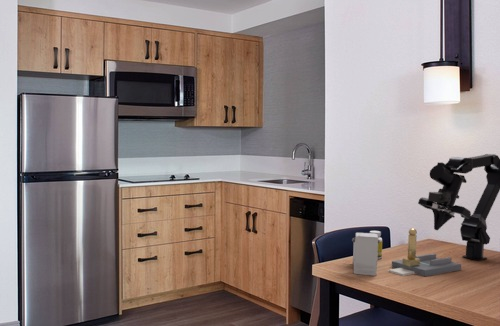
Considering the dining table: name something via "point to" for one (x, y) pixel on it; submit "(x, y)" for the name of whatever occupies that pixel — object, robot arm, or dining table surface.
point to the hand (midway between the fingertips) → (435, 229)
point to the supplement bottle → (379, 243)
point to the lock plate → (430, 265)
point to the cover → (401, 271)
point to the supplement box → (365, 254)
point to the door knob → (411, 250)
